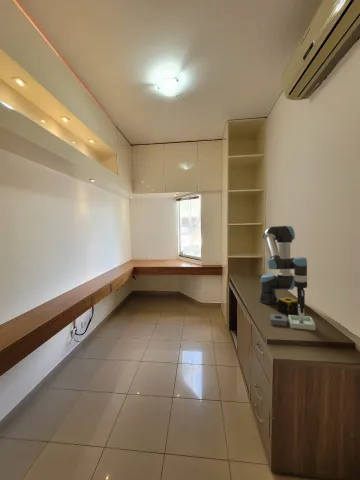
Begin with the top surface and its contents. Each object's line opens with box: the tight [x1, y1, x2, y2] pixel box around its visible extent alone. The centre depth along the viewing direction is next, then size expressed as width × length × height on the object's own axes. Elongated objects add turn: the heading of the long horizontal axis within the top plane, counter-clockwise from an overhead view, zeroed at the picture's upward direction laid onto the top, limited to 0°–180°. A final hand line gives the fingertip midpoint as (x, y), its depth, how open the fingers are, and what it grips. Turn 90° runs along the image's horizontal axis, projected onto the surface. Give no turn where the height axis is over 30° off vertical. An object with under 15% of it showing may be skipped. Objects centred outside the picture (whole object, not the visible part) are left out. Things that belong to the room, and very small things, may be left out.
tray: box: [287, 314, 317, 331], centre depth 151 cm, size 14×14×3 cm
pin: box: [299, 305, 304, 324], centre depth 150 cm, size 3×3×12 cm
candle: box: [277, 296, 298, 316], centre depth 171 cm, size 10×10×10 cm
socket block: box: [269, 313, 288, 327], centre depth 155 cm, size 10×10×4 cm
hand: (301, 315), depth 150 cm, fingers open, 5 cm apart
